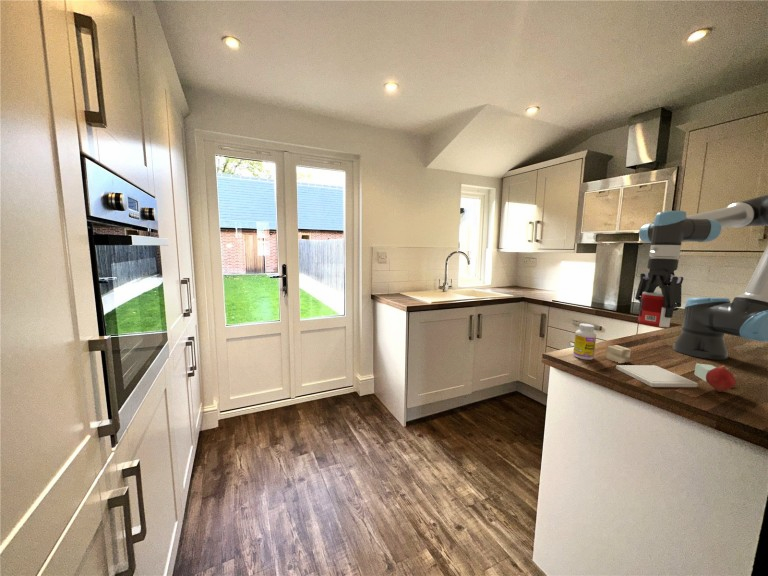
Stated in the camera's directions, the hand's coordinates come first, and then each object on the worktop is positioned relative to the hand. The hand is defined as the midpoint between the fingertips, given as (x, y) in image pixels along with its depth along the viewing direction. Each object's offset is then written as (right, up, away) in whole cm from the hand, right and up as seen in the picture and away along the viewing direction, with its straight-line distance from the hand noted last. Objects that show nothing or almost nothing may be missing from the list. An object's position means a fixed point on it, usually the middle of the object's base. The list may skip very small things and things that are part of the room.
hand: (653, 323), depth 103 cm
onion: (+6, -18, -15) cm, 25 cm away
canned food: (0, 0, 0) cm, 0 cm away
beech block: (-5, -15, +9) cm, 18 cm away
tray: (-5, -17, -6) cm, 19 cm away
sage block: (+12, -17, -7) cm, 22 cm away
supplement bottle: (-17, -15, +12) cm, 25 cm away
